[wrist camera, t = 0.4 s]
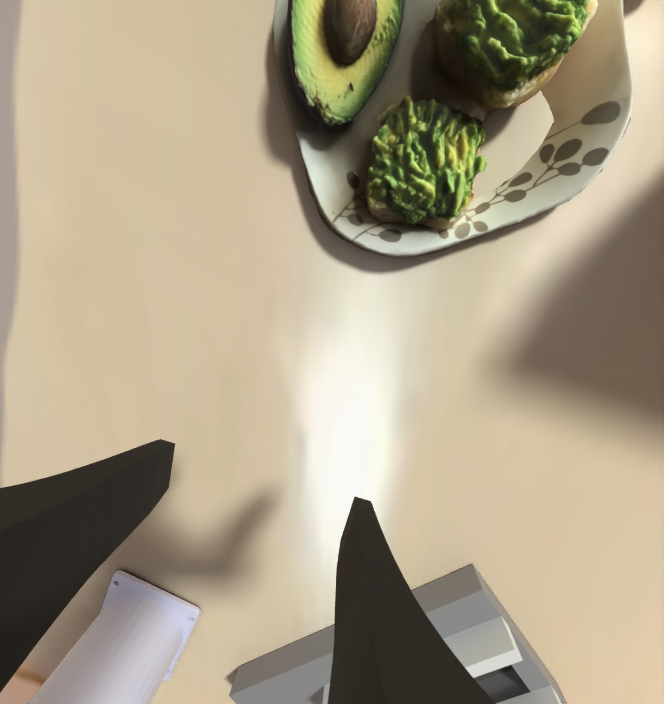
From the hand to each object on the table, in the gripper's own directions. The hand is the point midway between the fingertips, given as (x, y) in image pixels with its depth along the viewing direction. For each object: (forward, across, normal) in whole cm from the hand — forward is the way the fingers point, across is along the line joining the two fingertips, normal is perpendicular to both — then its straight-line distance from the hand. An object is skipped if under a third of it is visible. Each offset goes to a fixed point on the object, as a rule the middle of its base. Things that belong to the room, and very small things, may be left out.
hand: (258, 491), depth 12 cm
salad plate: (+10, -2, -20) cm, 22 cm away
